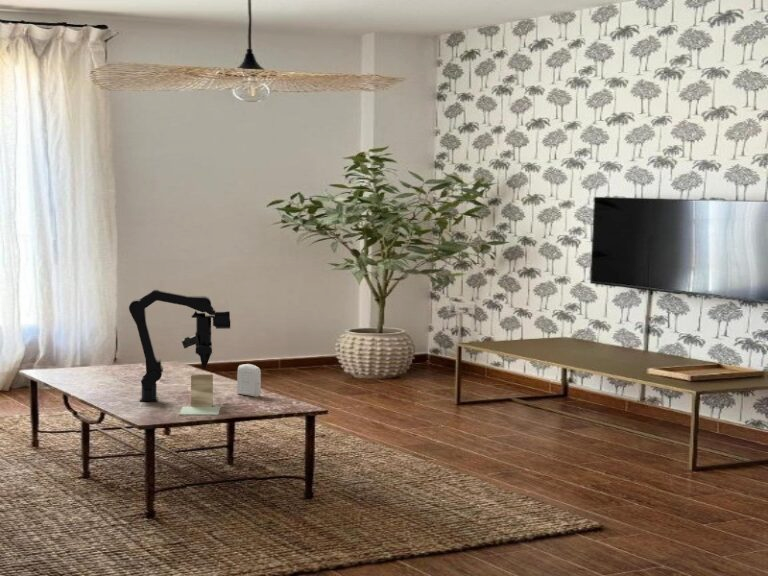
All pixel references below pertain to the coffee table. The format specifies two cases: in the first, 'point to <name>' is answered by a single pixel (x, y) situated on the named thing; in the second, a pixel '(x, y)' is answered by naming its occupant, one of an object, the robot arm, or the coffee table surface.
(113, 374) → the coffee table surface
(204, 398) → the birch tile
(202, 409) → the mat
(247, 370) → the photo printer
